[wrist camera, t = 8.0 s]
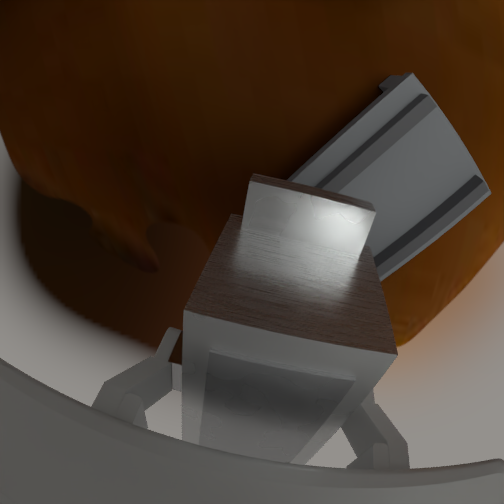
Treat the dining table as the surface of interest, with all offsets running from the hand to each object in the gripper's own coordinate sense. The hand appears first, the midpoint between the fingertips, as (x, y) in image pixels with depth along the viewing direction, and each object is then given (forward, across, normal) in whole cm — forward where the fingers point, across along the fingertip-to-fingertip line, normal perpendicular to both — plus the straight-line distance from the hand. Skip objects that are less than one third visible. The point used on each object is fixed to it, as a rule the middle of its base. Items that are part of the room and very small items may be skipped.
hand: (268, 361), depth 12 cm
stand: (+21, -7, -2) cm, 22 cm away
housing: (+2, 0, 0) cm, 2 cm away
